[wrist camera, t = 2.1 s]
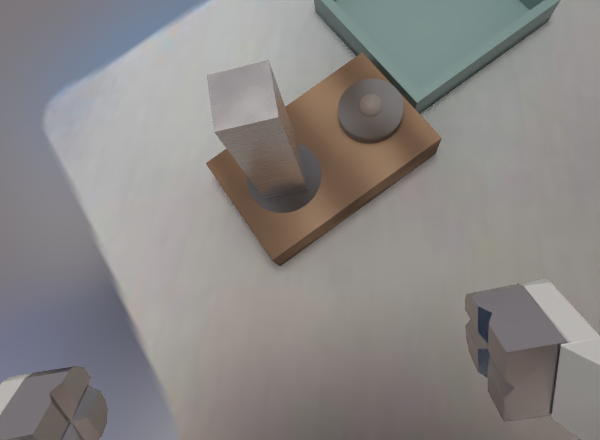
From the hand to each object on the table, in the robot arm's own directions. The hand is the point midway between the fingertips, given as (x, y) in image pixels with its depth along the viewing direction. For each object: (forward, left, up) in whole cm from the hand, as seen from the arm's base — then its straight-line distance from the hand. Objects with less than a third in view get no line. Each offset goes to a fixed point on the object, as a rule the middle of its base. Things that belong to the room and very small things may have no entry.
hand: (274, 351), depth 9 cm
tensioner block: (-7, -12, -25) cm, 29 cm away
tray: (-23, -18, -25) cm, 39 cm away
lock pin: (-4, -12, -22) cm, 25 cm away
